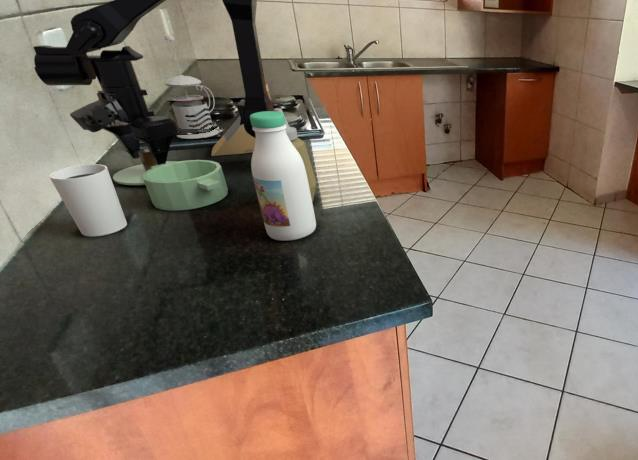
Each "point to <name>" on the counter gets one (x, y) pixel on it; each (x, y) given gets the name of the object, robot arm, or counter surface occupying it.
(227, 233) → the counter surface
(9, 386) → the counter surface
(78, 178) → the white cup
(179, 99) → the french press
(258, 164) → the milk bottle
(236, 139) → the sandwich container
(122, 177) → the lid
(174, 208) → the pot
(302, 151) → the squeeze bottle
